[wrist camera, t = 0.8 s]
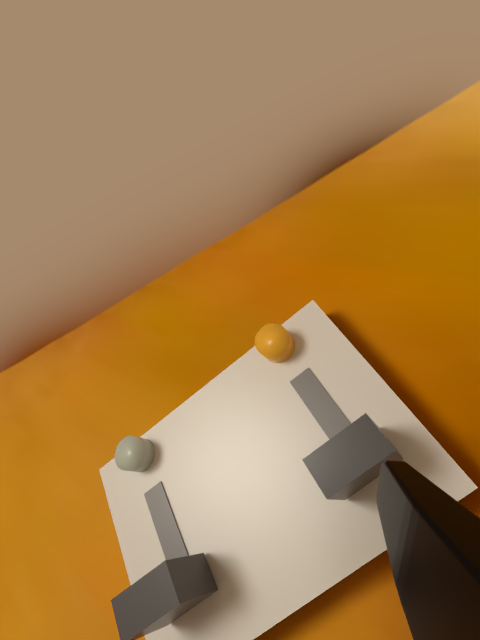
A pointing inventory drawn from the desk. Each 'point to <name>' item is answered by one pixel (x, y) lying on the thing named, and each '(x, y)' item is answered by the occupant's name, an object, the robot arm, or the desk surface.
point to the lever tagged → (350, 459)
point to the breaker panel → (263, 479)
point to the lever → (163, 595)
